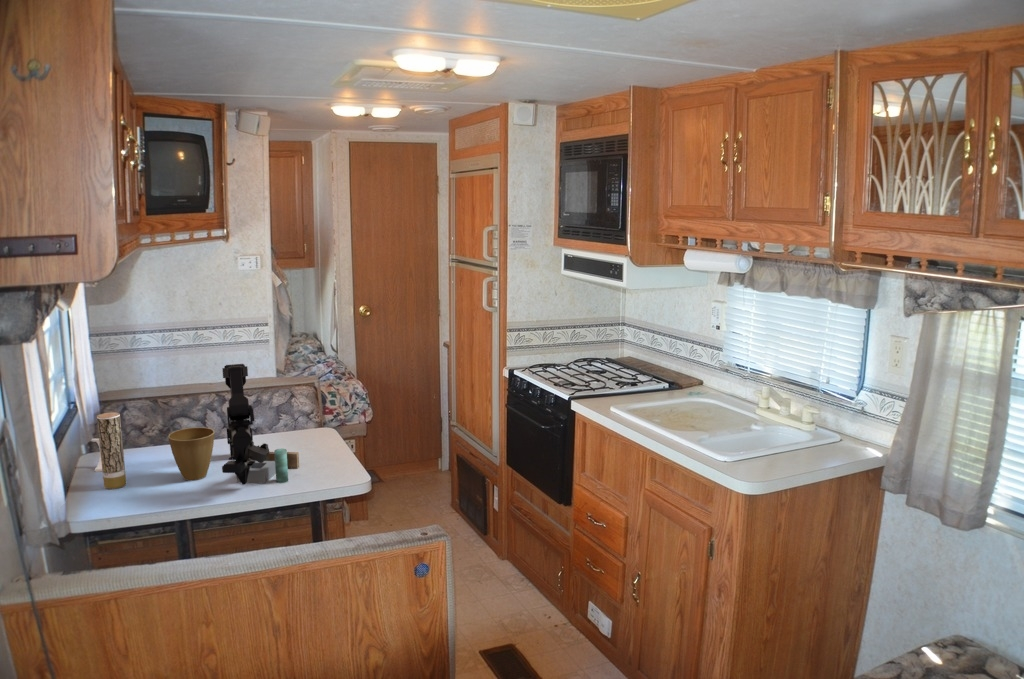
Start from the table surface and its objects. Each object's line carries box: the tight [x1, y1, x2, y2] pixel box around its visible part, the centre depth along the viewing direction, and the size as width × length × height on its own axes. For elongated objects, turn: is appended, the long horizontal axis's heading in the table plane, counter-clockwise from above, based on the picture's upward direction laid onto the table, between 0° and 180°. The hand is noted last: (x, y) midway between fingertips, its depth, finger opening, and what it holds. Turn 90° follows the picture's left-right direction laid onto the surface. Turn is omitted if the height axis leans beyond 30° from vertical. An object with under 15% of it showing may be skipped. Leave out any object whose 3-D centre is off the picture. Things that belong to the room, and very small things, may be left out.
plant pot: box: [167, 426, 215, 482], centre depth 270 cm, size 15×15×16 cm
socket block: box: [235, 461, 276, 484], centre depth 270 cm, size 10×10×4 cm
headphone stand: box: [90, 438, 103, 473], centre depth 279 cm, size 5×6×12 cm
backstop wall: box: [251, 451, 300, 470], centre depth 280 cm, size 20×2×6 cm, turn 86°
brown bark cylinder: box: [96, 411, 127, 490], centre depth 261 cm, size 7×7×25 cm
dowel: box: [273, 448, 289, 484], centre depth 266 cm, size 4×4×11 cm
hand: (244, 484), depth 260 cm, fingers closed
